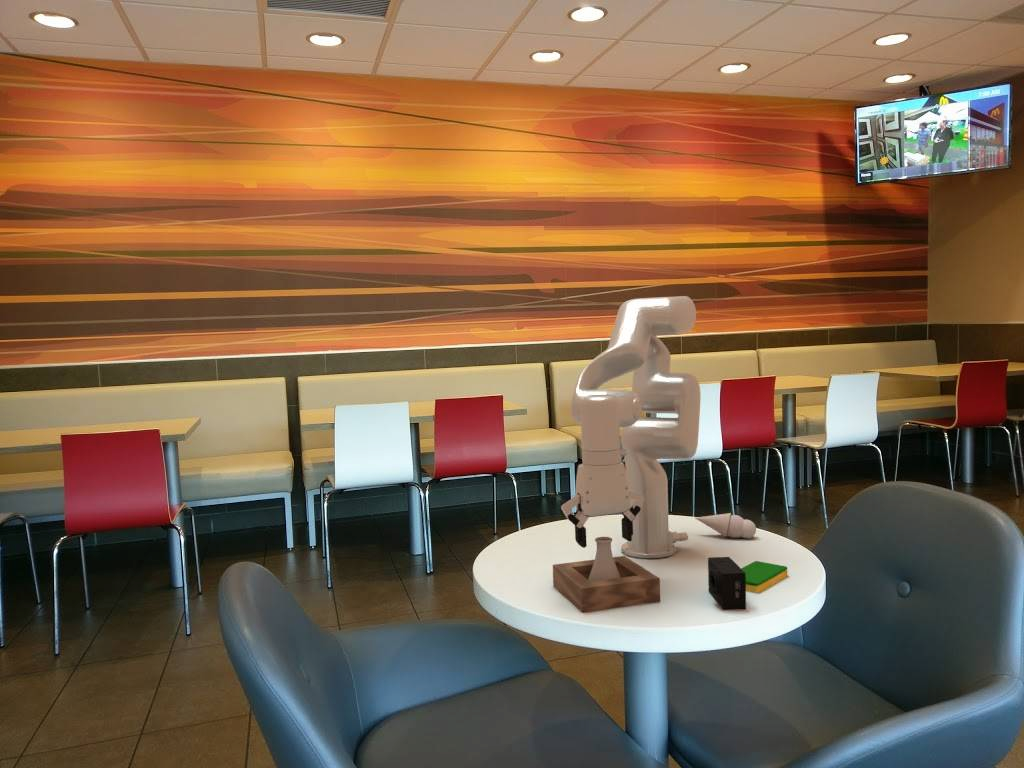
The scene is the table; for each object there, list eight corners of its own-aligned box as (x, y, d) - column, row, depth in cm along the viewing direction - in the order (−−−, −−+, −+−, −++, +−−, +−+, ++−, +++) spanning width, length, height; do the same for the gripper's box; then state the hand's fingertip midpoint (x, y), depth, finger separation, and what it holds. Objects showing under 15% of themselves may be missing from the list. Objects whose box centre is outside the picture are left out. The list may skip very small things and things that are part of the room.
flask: (579, 588, 152) (577, 539, 151) (603, 579, 156) (602, 531, 156) (606, 597, 146) (605, 545, 146) (630, 587, 151) (629, 538, 150)
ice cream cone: (692, 533, 193) (753, 547, 188) (691, 523, 188) (754, 537, 183) (696, 512, 196) (757, 525, 191) (696, 501, 191) (758, 514, 186)
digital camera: (702, 591, 151) (701, 557, 150) (729, 590, 151) (729, 556, 150) (716, 610, 140) (715, 573, 140) (746, 609, 140) (745, 572, 140)
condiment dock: (624, 576, 161) (624, 555, 161) (660, 601, 146) (659, 578, 146) (553, 586, 157) (552, 564, 156) (582, 612, 141) (581, 588, 141)
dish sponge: (724, 588, 153) (723, 576, 153) (756, 571, 163) (755, 560, 163) (757, 595, 148) (757, 583, 148) (788, 577, 158) (788, 566, 158)
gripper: (633, 450, 156) (636, 532, 157) (553, 458, 151) (557, 543, 152) (650, 456, 149) (652, 542, 150) (566, 465, 144) (570, 553, 145)
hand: (604, 542), depth 151 cm, fingers open, 9 cm apart
